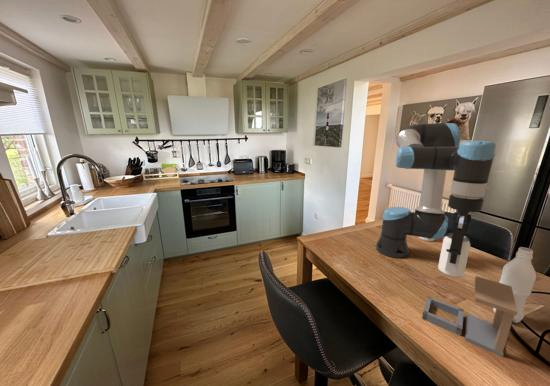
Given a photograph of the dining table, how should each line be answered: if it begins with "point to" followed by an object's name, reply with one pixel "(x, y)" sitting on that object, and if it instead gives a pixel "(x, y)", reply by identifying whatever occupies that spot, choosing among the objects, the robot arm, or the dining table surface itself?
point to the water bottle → (519, 279)
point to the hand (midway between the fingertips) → (451, 266)
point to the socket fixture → (476, 328)
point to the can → (462, 259)
